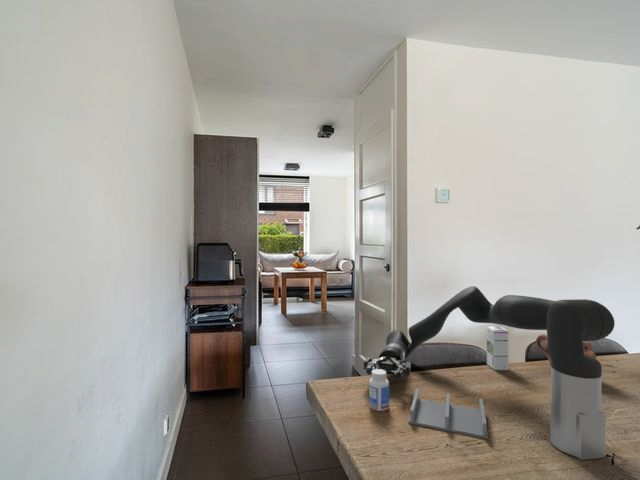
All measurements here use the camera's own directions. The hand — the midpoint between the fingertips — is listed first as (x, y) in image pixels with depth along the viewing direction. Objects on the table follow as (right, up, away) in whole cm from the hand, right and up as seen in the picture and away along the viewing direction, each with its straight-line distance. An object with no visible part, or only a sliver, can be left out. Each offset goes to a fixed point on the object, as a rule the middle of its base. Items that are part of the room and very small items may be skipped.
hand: (382, 373), depth 104 cm
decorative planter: (+68, -8, +20) cm, 71 cm away
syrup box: (+47, -8, +25) cm, 54 cm away
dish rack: (+15, -7, -12) cm, 20 cm away
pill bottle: (-2, -7, -6) cm, 10 cm away
